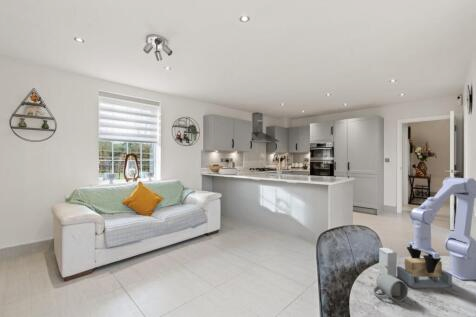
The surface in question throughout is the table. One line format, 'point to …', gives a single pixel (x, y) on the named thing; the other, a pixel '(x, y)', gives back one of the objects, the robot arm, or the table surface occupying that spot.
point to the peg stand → (424, 279)
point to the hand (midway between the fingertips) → (423, 268)
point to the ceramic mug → (391, 288)
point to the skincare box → (387, 261)
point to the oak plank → (421, 267)
